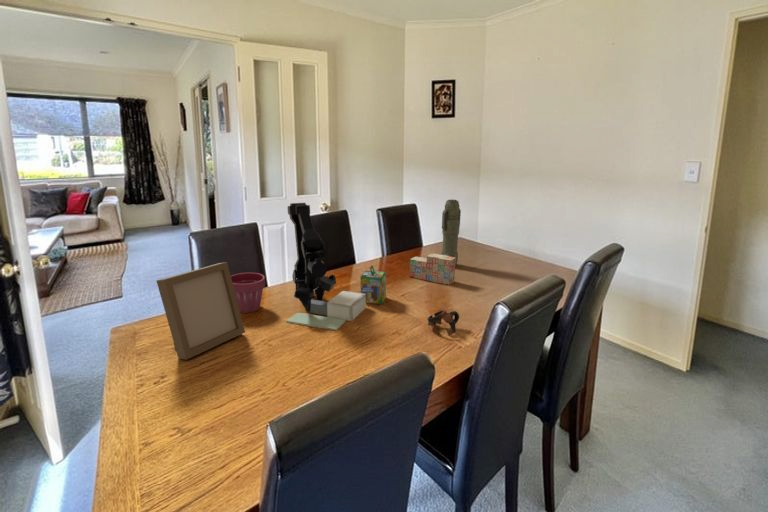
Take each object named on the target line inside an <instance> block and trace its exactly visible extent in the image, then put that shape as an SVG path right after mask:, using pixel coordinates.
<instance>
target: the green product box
mask: <svg viewBox="0 0 768 512" xmlns="http://www.w3.org/2000/svg"><path fill="white" fill-rule="evenodd" d="M373 265H374V264H371V265H370V267H369V270H364V272H363V273H362V274H361V275H360V277H359V278H360V293H364V294H366V304H375V305H376V304H377V305H383V303H384V301H385V300H386V296H387V294H386V293H387V289H386V288H387V287H386V286H387V283H386V282H387V273H386V271H379V270H375V267H374V266H373Z"/></svg>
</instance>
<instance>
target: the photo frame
mask: <svg viewBox="0 0 768 512" xmlns="http://www.w3.org/2000/svg"><path fill="white" fill-rule="evenodd" d="M231 276H232V275H231V272H230V269H229V264H228V261H226V262H225V261H224V262H218V263H214V264H210V265H208V266H203V267H201V268H197V269H193V270H190V271H186V272H185V271H184V272H182V273H179V274H175V275H171V276H167V277H164V278H161V279H157V280H156V284H157V287H158V291H159V294H160V297H161V302H162V304H163V308H164V309H163V310H164V314H165V316H166V319H167V322H168V326H169V330H170V333H171V338H172V341H173V345H174V347H175V351H176V355H177V358H178V360H189V359H190V358H193V357H195V356H197V355H199V354H201V353H204V352H206V351H208V350H210V349H212V348H215V347H217V346H219V345H221V344H223V343H225V342H228V341H230V340H231V339H234V338H236V337H238V336H240V335H243V334H244V333H246V330H245V326H244V323H243V319H242V313H241V312H240V310H239V306H238V303H237V299H236V295H235V291H234V287H233V283H232V279H231Z"/></svg>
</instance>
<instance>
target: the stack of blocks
mask: <svg viewBox="0 0 768 512" xmlns="http://www.w3.org/2000/svg"><path fill="white" fill-rule="evenodd" d="M455 262H456V257H450V256H446V255H441V254H438V253H430V254H428V255H427V256H426V257H421V256H414V257H412V258H410V259H409V278H413V279H414V278H415V279H417V278H418V279H417V280H422V279H423V281H427V280H428V281H429V282H432V281H433V283H437V282H439V283H438V284H441V283H443V284H442V285H446V284H448V285H447V286H450V285H451V284H453V283H454V282H455V273H456V267H455ZM428 281H427V282H428ZM453 281H454V282H453ZM452 282H453V283H452ZM449 284H450V285H449Z"/></svg>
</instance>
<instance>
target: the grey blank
mask: <svg viewBox="0 0 768 512" xmlns="http://www.w3.org/2000/svg"><path fill="white" fill-rule="evenodd" d="M328 302H329V301H324V300H322V301H319V300H317V299H314V298H313V299H312V300H311V309H310V312H309V313H313V314H317V313H318V315H323V316H327V303H328ZM304 309H305V308H304ZM304 311H305V312H307V311H306V309H305V310H304ZM307 313H308V312H307Z"/></svg>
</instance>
